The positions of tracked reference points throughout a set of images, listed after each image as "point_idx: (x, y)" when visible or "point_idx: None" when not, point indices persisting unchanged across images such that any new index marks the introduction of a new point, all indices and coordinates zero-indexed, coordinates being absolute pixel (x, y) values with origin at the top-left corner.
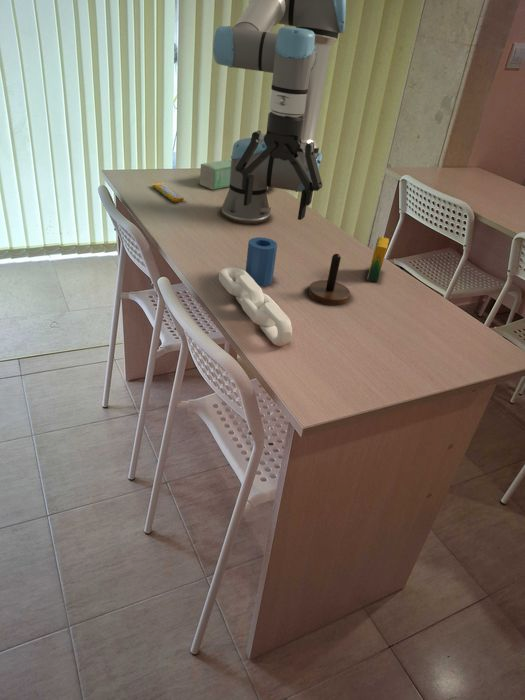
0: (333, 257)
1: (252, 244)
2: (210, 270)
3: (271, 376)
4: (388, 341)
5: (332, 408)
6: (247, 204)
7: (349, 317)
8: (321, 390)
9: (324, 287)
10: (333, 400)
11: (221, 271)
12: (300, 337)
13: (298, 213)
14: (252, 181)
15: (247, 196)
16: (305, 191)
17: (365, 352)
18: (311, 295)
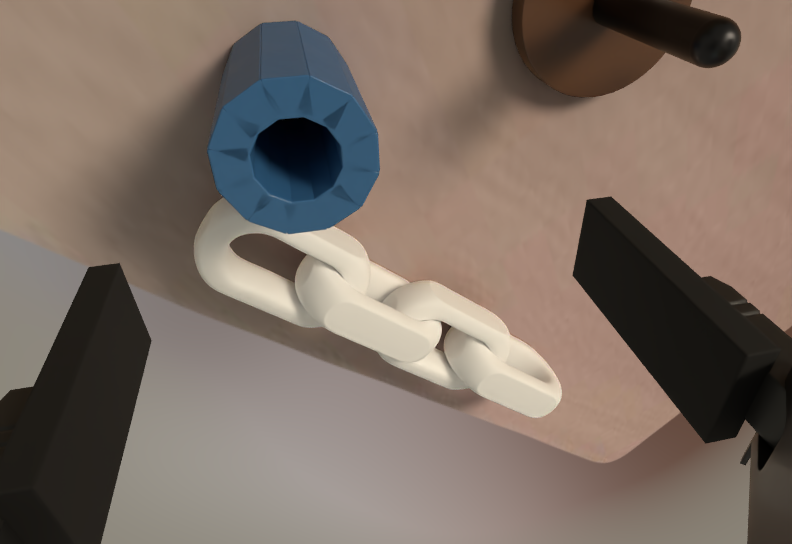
0: (699, 64)
1: (266, 218)
2: (69, 154)
3: (532, 429)
4: (788, 169)
5: (648, 423)
6: (143, 330)
7: (680, 117)
8: (626, 404)
9: (584, 2)
10: (649, 409)
11: (212, 286)
12: (554, 302)
13: (593, 301)
14: (70, 445)
15: (135, 397)
16: (745, 462)
17: (717, 254)
18: (535, 75)
